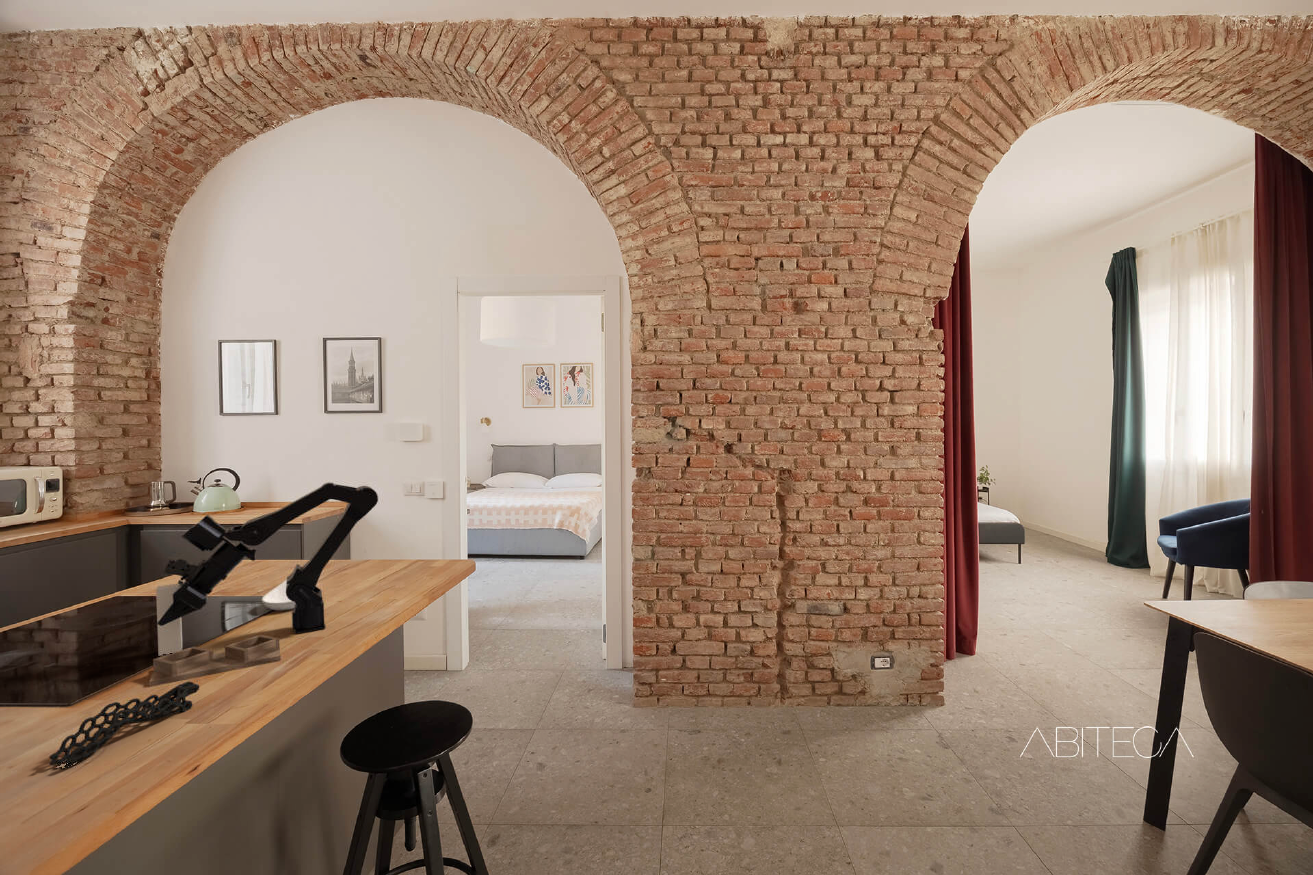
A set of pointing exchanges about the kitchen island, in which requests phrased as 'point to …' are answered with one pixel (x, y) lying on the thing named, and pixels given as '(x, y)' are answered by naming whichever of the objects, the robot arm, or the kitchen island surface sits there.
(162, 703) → the decorative element
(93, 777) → the kitchen island surface
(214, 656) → the double compartment tray
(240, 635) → the kitchen island surface
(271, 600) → the spoon rest
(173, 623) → the beige rectangular block
